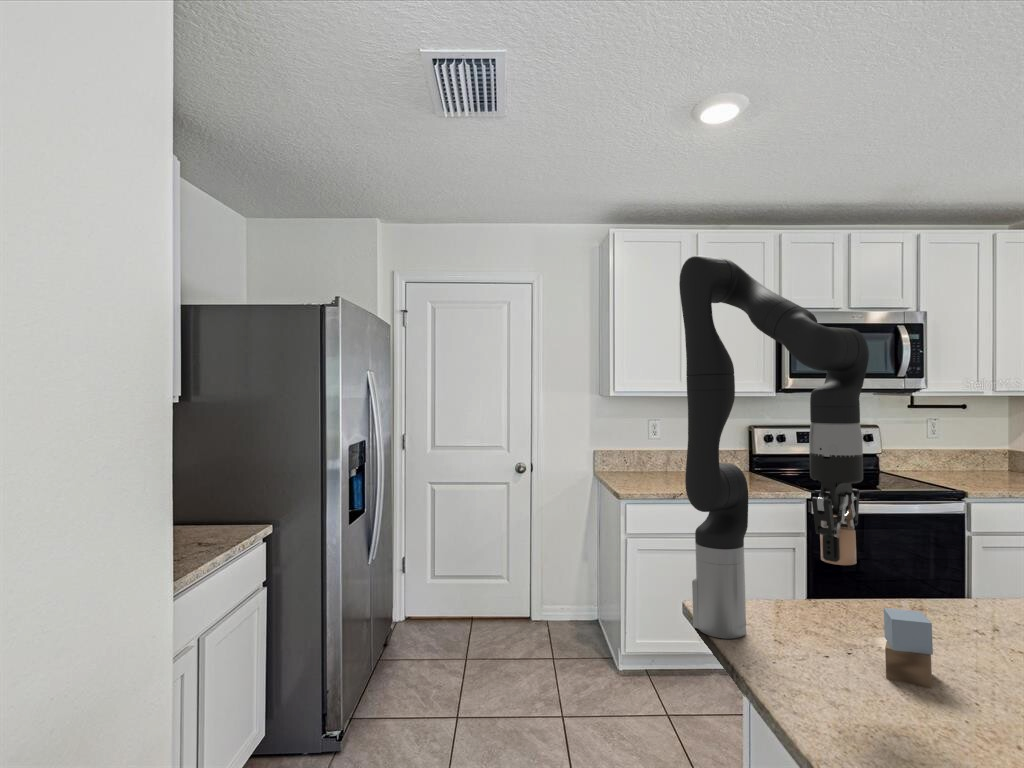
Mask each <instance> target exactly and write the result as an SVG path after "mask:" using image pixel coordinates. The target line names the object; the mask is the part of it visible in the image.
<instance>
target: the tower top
mask: <svg viewBox="0 0 1024 768" xmlns="http://www.w3.org/2000/svg"><path fill="white" fill-rule="evenodd" d="M883 623H884V624H883V626H884V628H883V629H884V639H885V640H886V642H888V643H889V645H890V647H891V648H892V650H896V651H904V652H913V653H921V654H929V655H931V656H932V655H934V650H933V649H934V648H933V647H934V645H933V623H932V622H931V620H930V619H929V618H928V617H927V616H926V614H924V613H923V611H921V610H912V609H911V610H908V609H899V608H888V607H883Z"/></svg>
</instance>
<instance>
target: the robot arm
mask: <svg viewBox="0 0 1024 768" xmlns="http://www.w3.org/2000/svg"><path fill="white" fill-rule="evenodd" d="M678 285H679V294H680V295H679V296H680V303H681V309H682V311H681V312H682V318H683V327H684V337H685V339H684V340H685V355H686V356H685V357H686V359H685V360H686V361H685V362H686V397H687V450H686V451H687V452H686V465H685V477H684V481H685V482H684V483H685V492H686V496H687V499H688V501H689V503H690V504H691V506H692V507H693V508H694V509H695V510H697V511H699V512H703V513H708V514H707V517H706V519H705V520H703V522H702V523H701V524H700V525H698V526H697V528H696V529H695V532H694V533H695V534H694V535H695V537H694V540H695V542H694V543H695V572H696V577H695V578H694V579H693V580H691V585H692V586H691V588H692V589H691V590H692V591H691V593H692V594H691V595H692V626H693V628H695V629H697V630H698V631H699V632H701V633H703V634H705V635H706V636H710V637H713V638H718V639H720V638H721V639H727V640H729V639H733V640H734V639H738V638H743V637H744V636H745V635H746V634H747V614H746V613H747V610H746V608H747V607H746V605H747V604H746V579H745V578H746V573H745V569H746V568H745V567H746V566H745V543H744V542H745V541H744V540H745V536H746V533H747V530H748V527H749V486H748V481H747V478H746V476H745V474H744V472H743V470H742V469H741V468H740V467H738V466H737V465H736V464H733V463H727V462H721V463H720V442H721V438H722V437H721V436H722V434H723V431H724V428H725V426H726V423H727V421H728V419H729V417H730V414H731V411H732V409H733V407H734V404H735V397H736V385H735V383H736V382H735V379H736V378H735V367H734V363H733V360H732V357H731V355H730V354H729V351H728V350H727V348H726V346H725V344H724V342H723V340H722V339H721V336H719V333H718V332H717V328H716V326H715V322H714V318H713V317H714V316H713V305H712V304H720V303H722V304H724V305H729V306H732V307H735V308H738V309H740V310H741V311H743V312H744V313H745V314H746V315H747V317H748V318H749V319H750V322H751V324H753V325H754V327H755V328H756V329H758V330H759V331H760V332H761V333H763V334H765V335H766V336H768V337H770V338H771V339H773V340H774V341H775V342H777V343H779V344H781V345H782V346H784V347H785V349H786V350H787V351H788V353H790V354H791V355H792V357H794V358H795V360H797V361H798V362H799V363H800V364H801V365H804V366H805V367H807V368H809V369H812V370H815V371H820V372H826V376H825V380H824V383H823V385H821V386H818V387H816V388H814V389H813V390H812V391H811V393H810V397H809V399H810V400H809V405H810V406H809V408H810V409H809V413H810V415H809V416H810V427H809V434H808V437H809V438H808V441H809V442H808V443H809V444H808V445H809V450H808V452H809V476H810V479H812V481H817V482H820V484H821V486H820V492H819V493H818V497H817V496H813V497H812V498H811V504H812V505H811V506H812V514H813V523H814V530H815V534H817V535H819V536H820V535H821V536H823V558H824V559H825V560H828V561H833V562H837V561H839V560H840V547H839V535H840V534H839V533H840V527H847V528H851V529H854V530H855V526H856V527H857V526H858V524H859V510H860V494H861V492H860V489H859V488H858V489H857V488H853V487H852V484H858V483H861V482H862V481H864V458H863V457H864V453H863V452H864V451H863V450H864V448H863V434H862V428H861V408H860V407H861V406H860V395H861V392H862V390H863V387H864V383H865V377H866V374H867V369H868V365H869V361H870V360H869V359H870V358H869V357H870V352H869V347H868V346H869V345H868V343H867V340H866V338H865V337H864V335H863V334H862V333H861V332H860V331H858V330H857V329H855V328H849V327H848V328H847V327H833V326H832V327H830V326H829V327H828V326H825V325H822V324H820V323H818V320H817V318H816V316H815V315H814V314H813V313H812V312H811V311H810V310H808V309H807V308H804V307H802V306H801V305H799V304H796V303H795V302H794V301H791V300H789V299H787V298H785V297H783V296H781V295H780V294H777V293H776V292H774V291H772V290H771V289H770V288H769V289H768V288H767V287H766V286H764V285H763V284H762V283H760V282H759V281H757V280H756V279H754V278H753V277H752V276H751V275H750V274H749V273H747V271H745V270H744V269H743V268H742V267H741V266H739V265H738V264H737V263H735V262H734V261H732V260H731V259H728V258H725V257H716V256H707V255H693V256H691V257H688V258H687V259H686V260H685V261H684V263H683V265H682V268H681V270H680V274H679V284H678ZM827 526H828V527H827Z"/></svg>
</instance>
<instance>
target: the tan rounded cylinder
mask: <svg viewBox="0 0 1024 768" xmlns="http://www.w3.org/2000/svg"><path fill="white" fill-rule="evenodd" d="M827 527H828V525H827ZM839 534H840V535H839V547H840V560H839V561H837V562H833V561H828V560H825V559H824V558H823V536H821V535H820V534H819V540H820V543H819V544H820V545H819V546H820V560H821V561H823V562H824V563H827V564H832V565H839V566H853V565H857V539H856V538H857V536H856V529H855V528H854V529H851V528H847V527H840V533H839Z"/></svg>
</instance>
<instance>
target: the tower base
mask: <svg viewBox="0 0 1024 768" xmlns="http://www.w3.org/2000/svg"><path fill="white" fill-rule="evenodd" d="M885 642H886V643H885V647H884V654H885V657H884V658H885V679H886V680H893V681H896V682H900V683H904V684H909V685H912V686H914V685H915V686H919V687H923V688H926V689H930V690H931V689H932V680H933V677H932V676H933V675H932V674H933V673H932V672H933V671H932V668H933V667H932V655H929V654H921V653H913V652H904V651H896V650H892V648H891V647H890V645H889V643H888V642H887V641H885Z"/></svg>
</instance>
